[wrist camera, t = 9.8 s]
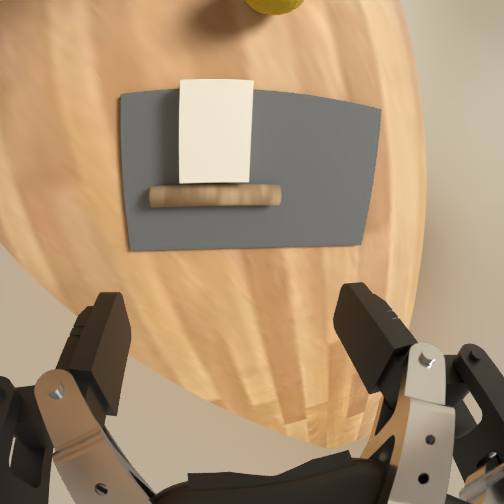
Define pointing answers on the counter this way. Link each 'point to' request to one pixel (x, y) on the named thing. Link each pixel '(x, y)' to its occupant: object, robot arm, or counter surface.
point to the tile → (215, 130)
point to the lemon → (274, 6)
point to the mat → (255, 174)
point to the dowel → (214, 195)
